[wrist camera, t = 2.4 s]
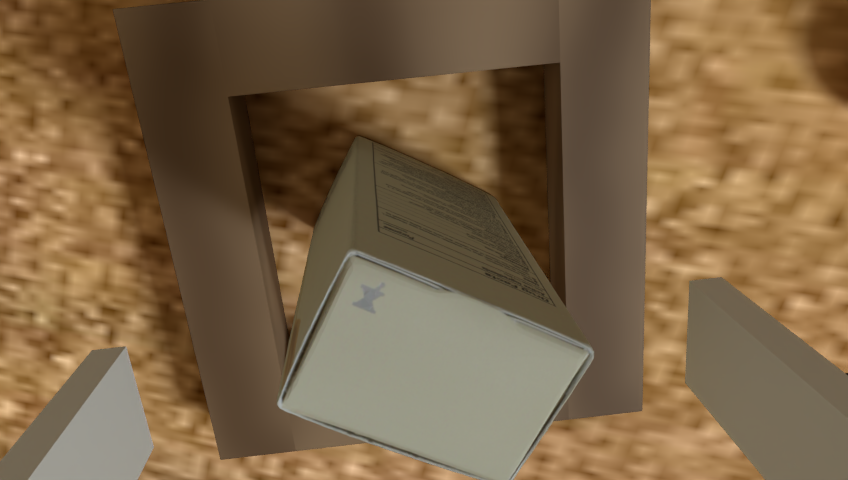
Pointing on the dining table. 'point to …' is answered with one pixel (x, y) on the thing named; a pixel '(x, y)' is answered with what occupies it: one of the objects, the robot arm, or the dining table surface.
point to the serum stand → (368, 62)
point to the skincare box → (427, 322)
